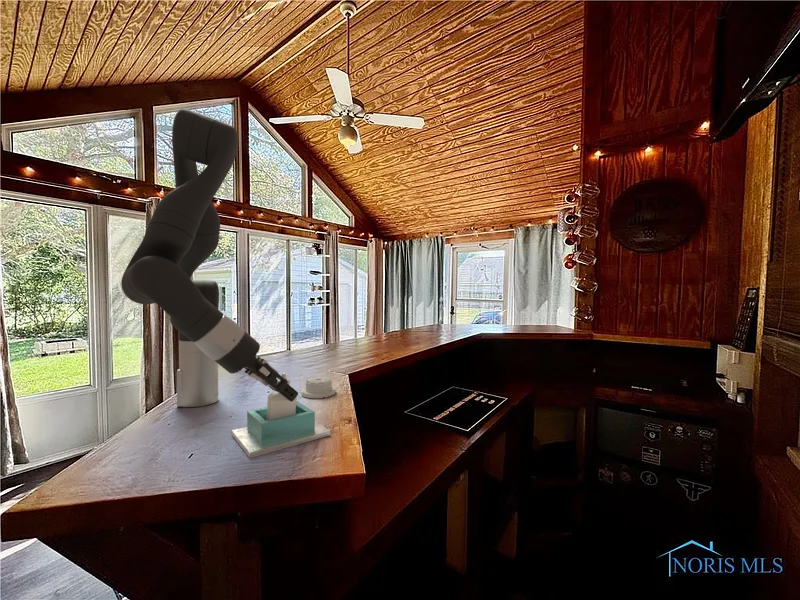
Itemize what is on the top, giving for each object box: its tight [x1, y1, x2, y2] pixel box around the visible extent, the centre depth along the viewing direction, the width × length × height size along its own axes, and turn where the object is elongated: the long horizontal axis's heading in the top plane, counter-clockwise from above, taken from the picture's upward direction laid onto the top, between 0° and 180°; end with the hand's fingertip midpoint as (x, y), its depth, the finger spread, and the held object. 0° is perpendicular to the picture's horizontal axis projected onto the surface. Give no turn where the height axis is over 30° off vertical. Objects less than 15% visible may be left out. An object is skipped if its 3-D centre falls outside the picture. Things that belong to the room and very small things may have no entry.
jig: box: [231, 400, 331, 459], centre depth 72 cm, size 16×13×5 cm
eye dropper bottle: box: [266, 372, 298, 421], centre depth 71 cm, size 4×6×12 cm
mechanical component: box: [300, 376, 336, 399], centre depth 102 cm, size 10×4×10 cm
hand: (286, 392), depth 72 cm, fingers open, 8 cm apart
